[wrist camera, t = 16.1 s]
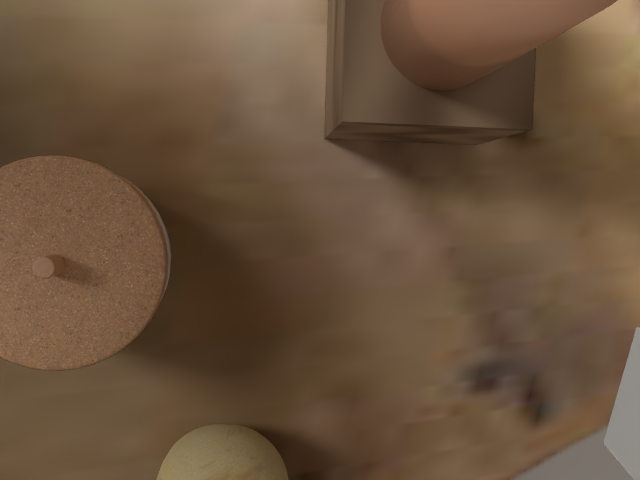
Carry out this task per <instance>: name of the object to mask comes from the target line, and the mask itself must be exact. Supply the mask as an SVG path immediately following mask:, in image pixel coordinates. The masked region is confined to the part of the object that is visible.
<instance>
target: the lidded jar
mask: <svg viewBox="0 0 640 480" xmlns="http://www.w3.org/2000/svg"><path fill="white" fill-rule="evenodd" d="M170 267H171V250H170V241H169V237H168V234H167V230H166V227H165V225H164V223H163V220H162V218H161V216H160V214H159V213H158V211H157V210H156V208H155V207H154V205H153V203H152V202H151V201H150V200H149V199H148V198H147V196H146V195H145V194H144V193H143V192H142V191H141V190H140V189H139V188H138V187H136V186H135V185H134V184H133V183H131V182H130V181H129V180H127V179H125V178H124V177H122V176H120V175H119V174H117V173H115V172H114V171H112V170H110V169H108V168H107V167H104V166H102V165H99V164H97V163H94V162H92V161H89V160H84V159H80V158H76V157H71V156H60V155H45V156H34V157H29V158H25V159H21V160H17V161H14V162H12V163H9V164H7V165H4V166H2V167H0V357H2V358H4V359H5V360H7V361H10V362H12V363H15V364H18V365H21V366H24V367H28V368H34V369H39V370H52V371H63V370H71V369H79V368H82V367H86V366H90V365H93V364H96V363H98V362H101V361H103V360H105V359H107V358H110V357H111V356H113V355H114V354H116V353H118V352H119V351H121V350H122V349H124V348H125V347H126V346H127V345H129V344H130V343H131V342H132V341H133V340H134V339H135V338H136V337H138V335H139V334H140V333H141V332H142V331H143V329H144V328H145V327H146V326H147V325H148V323H149V322H150V321H151V319H152V317H153V316H154V314H155V312H156V310H157V309H158V307H159V304H160V302H161V300H162V298H163V295H164V293H165V290H166V288H167V284H168V280H169V275H170Z"/></svg>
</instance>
